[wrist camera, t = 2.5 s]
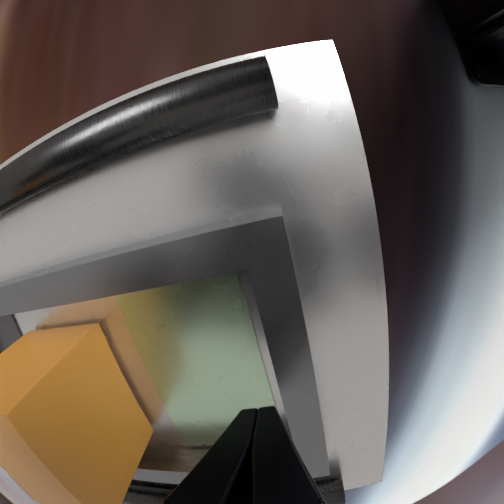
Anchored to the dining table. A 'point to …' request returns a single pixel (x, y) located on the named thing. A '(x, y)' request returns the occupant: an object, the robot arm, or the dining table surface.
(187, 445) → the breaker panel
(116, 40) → the dining table surface
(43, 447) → the orange cube block
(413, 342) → the dining table surface
